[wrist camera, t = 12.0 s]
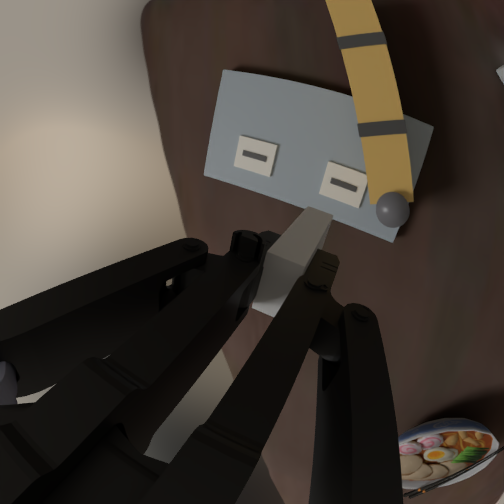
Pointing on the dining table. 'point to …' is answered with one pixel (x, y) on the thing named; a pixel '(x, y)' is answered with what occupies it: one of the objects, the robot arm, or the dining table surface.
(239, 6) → the dining table surface
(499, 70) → the ink box
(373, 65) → the banded tan post
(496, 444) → the ramen bowl
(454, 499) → the dining table surface
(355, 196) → the power panel
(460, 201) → the dining table surface
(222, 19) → the dining table surface
